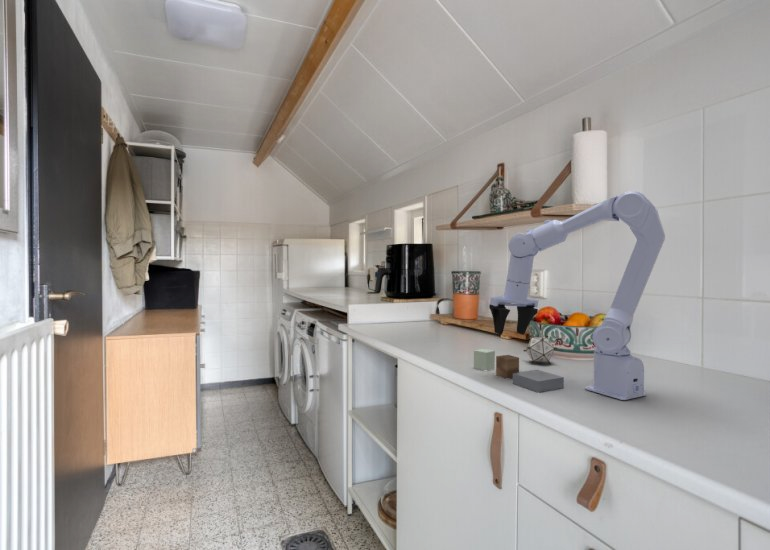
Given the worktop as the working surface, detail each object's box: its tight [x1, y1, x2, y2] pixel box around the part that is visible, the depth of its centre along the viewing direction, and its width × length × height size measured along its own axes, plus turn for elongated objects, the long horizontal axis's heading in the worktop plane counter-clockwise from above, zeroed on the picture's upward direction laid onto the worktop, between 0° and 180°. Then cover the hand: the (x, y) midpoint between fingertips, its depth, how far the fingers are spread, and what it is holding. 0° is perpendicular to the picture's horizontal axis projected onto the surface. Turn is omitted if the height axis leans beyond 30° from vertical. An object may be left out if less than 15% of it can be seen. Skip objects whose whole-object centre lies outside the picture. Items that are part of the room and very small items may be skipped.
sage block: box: [473, 348, 496, 371], centre depth 117 cm, size 4×4×5 cm
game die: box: [523, 334, 558, 365], centre depth 124 cm, size 9×8×10 cm
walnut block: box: [495, 354, 520, 379], centre depth 109 cm, size 4×4×5 cm
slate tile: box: [512, 369, 565, 393], centre depth 100 cm, size 8×8×2 cm
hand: (509, 333), depth 110 cm, fingers open, 7 cm apart
